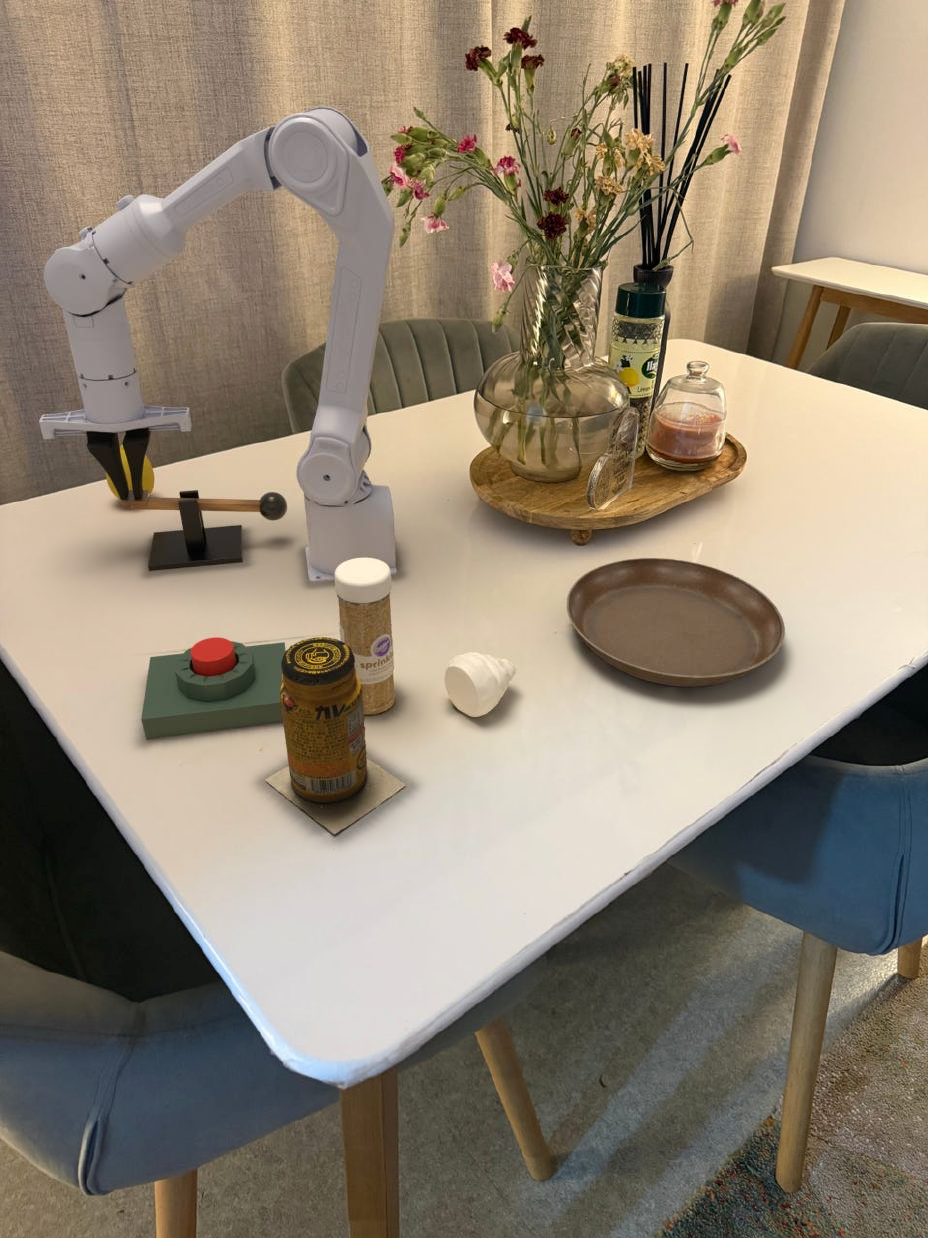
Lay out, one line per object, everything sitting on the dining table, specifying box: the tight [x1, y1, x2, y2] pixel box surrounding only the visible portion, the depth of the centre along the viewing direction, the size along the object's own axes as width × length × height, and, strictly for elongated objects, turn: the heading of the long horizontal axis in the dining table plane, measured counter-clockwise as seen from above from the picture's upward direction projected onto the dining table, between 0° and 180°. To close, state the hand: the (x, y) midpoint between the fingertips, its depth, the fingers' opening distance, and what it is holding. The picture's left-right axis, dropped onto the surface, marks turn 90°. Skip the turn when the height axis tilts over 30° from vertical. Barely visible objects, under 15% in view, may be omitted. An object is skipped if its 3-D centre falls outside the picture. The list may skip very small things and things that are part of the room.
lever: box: [122, 490, 288, 522], centre depth 98 cm, size 17×3×3 cm, turn 102°
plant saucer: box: [566, 557, 786, 688], centre depth 86 cm, size 21×21×3 cm
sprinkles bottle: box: [334, 558, 397, 715], centre depth 75 cm, size 5×5×14 cm
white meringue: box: [444, 651, 517, 718], centre depth 77 cm, size 6×6×6 cm
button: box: [190, 636, 236, 677], centre depth 76 cm, size 4×4×2 cm
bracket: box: [147, 489, 244, 572], centre depth 99 cm, size 10×8×7 cm
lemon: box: [105, 444, 155, 502], centre depth 109 cm, size 6×6×8 cm
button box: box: [141, 640, 287, 740], centre depth 78 cm, size 12×9×4 cm
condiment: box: [265, 636, 407, 835], centre depth 66 cm, size 7×8×12 cm
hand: (132, 495), depth 96 cm, fingers closed, pressing on lever
